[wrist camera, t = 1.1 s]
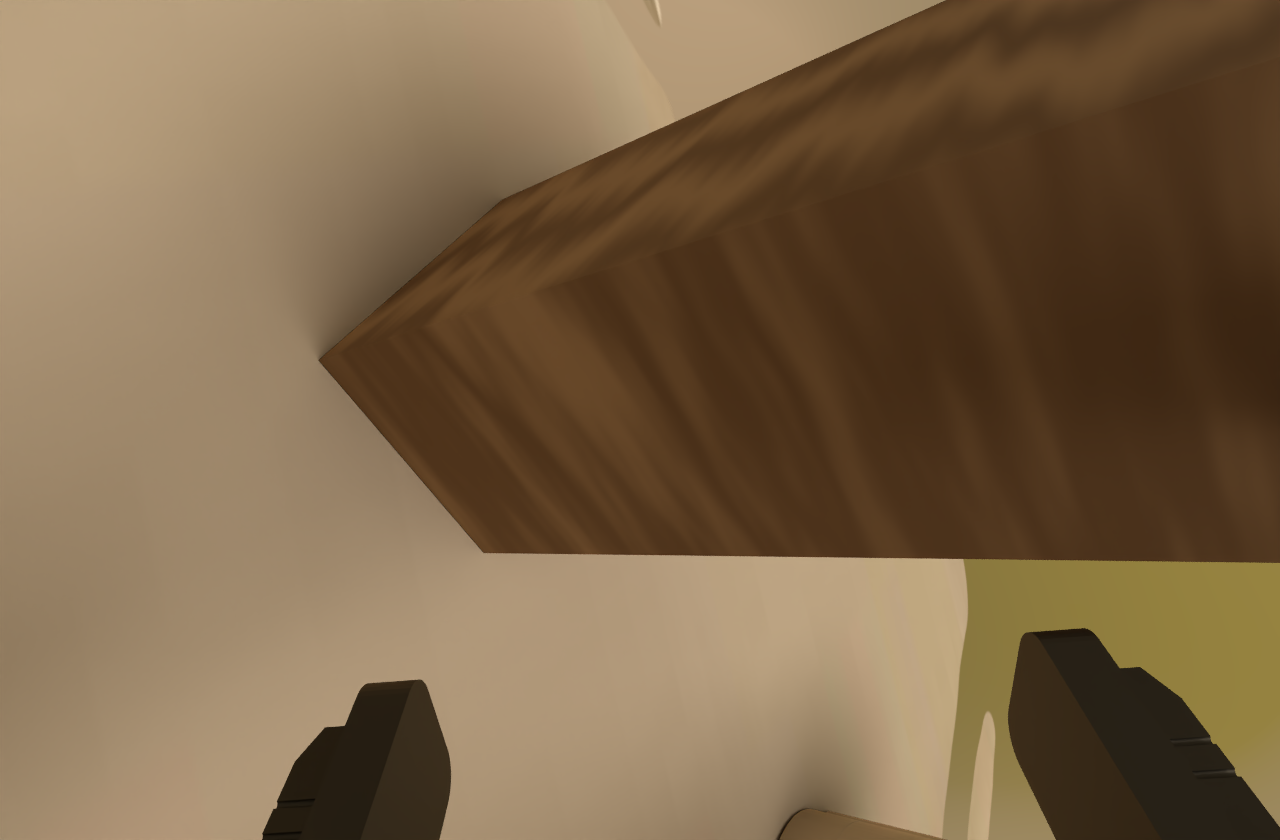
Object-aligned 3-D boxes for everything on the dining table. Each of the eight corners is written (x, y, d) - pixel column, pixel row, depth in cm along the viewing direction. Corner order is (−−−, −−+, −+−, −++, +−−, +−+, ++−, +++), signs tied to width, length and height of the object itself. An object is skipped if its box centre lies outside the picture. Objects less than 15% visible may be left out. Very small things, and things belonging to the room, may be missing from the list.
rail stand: (484, 552, 38) (1429, 564, 17) (318, 360, 33) (1394, 20, 12) (616, 375, 47) (1355, 233, 26) (502, 199, 42) (1315, -166, 20)
